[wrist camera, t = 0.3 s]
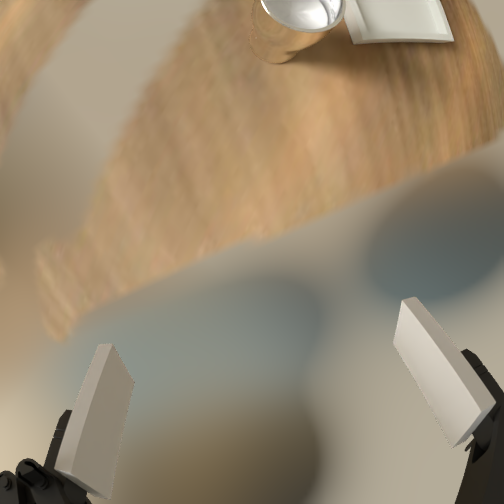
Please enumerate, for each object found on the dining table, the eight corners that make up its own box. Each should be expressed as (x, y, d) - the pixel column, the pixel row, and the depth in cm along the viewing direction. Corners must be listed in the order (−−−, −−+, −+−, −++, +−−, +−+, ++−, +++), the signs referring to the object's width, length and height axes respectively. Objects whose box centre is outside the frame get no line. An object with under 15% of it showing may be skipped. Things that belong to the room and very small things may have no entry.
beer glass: (288, 11, 26) (323, -43, 13) (311, 57, 29) (363, 25, 16) (235, 28, 27) (241, -26, 14) (259, 75, 30) (281, 46, 17)
